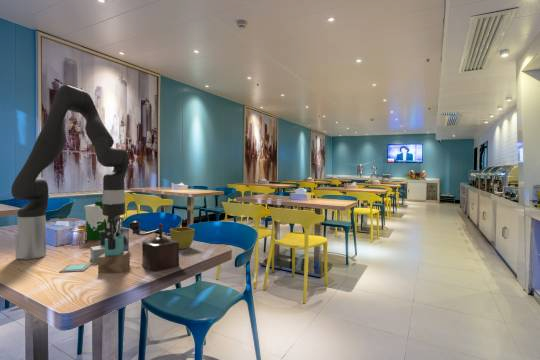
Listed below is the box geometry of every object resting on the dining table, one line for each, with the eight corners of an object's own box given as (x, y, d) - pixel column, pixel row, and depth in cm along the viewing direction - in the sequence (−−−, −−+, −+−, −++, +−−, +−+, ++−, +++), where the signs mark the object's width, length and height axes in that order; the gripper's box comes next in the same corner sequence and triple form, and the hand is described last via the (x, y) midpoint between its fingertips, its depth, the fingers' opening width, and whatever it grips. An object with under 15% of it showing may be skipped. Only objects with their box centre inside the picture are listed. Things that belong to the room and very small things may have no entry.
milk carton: (98, 241, 155) (97, 202, 154) (82, 240, 156) (81, 201, 156) (109, 237, 164) (109, 200, 163) (94, 236, 165) (94, 200, 164)
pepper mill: (165, 259, 125) (165, 216, 124) (179, 266, 117) (179, 219, 117) (127, 268, 114) (127, 220, 113) (139, 275, 106) (139, 224, 106)
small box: (112, 257, 127) (112, 232, 127) (99, 256, 129) (99, 231, 129) (129, 251, 138) (129, 228, 137) (117, 250, 139) (117, 227, 139)
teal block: (104, 255, 110) (104, 239, 110) (109, 251, 115) (109, 236, 114) (119, 255, 111) (119, 238, 111) (123, 251, 116) (123, 235, 115)
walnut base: (98, 273, 108) (98, 257, 108) (108, 266, 116) (108, 251, 116) (121, 273, 109) (121, 257, 108) (129, 266, 117) (129, 251, 116)
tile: (59, 272, 108) (59, 271, 108) (69, 265, 116) (69, 264, 116) (83, 271, 110) (83, 270, 110) (92, 264, 118) (92, 263, 118)
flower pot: (185, 244, 151) (185, 226, 150) (195, 247, 145) (195, 229, 144) (169, 247, 145) (169, 228, 144) (178, 251, 138) (178, 231, 138)
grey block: (93, 250, 120) (90, 247, 125) (93, 262, 120) (90, 259, 125) (107, 248, 123) (104, 245, 128) (107, 260, 124) (104, 256, 128)
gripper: (109, 200, 118) (109, 243, 119) (95, 204, 104) (96, 252, 105) (129, 199, 120) (129, 242, 120) (119, 204, 106) (119, 252, 106)
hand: (114, 247), depth 113 cm, fingers open, 5 cm apart
